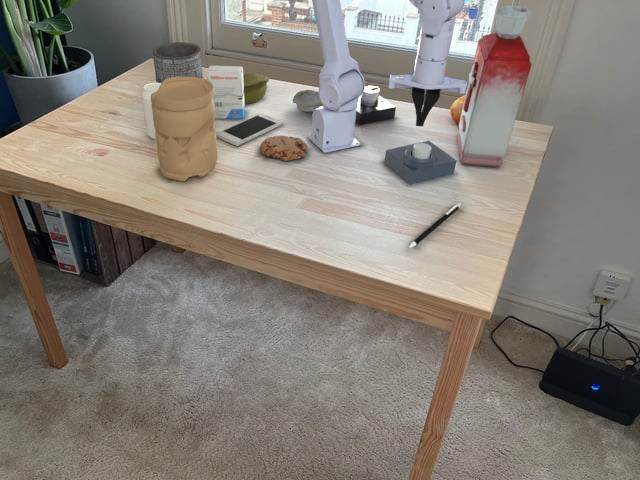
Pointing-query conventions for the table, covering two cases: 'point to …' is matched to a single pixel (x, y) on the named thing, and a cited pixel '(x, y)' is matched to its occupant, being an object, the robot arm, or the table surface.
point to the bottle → (494, 90)
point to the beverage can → (149, 107)
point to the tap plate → (374, 112)
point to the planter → (177, 61)
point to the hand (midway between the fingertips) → (419, 124)
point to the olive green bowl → (254, 87)
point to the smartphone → (248, 129)
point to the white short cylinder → (421, 151)
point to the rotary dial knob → (370, 96)
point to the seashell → (307, 100)
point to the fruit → (457, 109)
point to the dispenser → (419, 163)
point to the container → (185, 127)
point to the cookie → (283, 147)
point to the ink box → (227, 91)
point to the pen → (435, 225)
